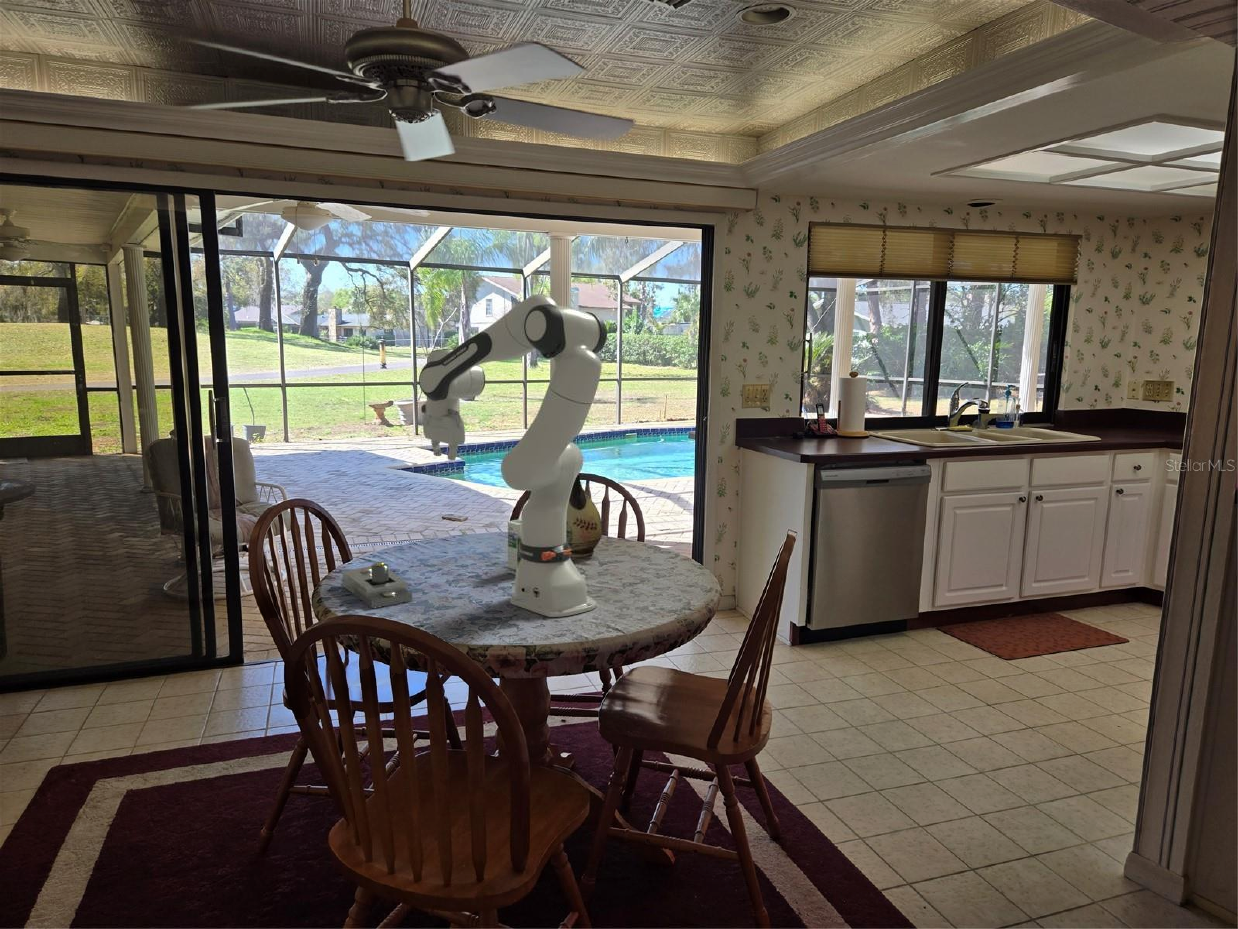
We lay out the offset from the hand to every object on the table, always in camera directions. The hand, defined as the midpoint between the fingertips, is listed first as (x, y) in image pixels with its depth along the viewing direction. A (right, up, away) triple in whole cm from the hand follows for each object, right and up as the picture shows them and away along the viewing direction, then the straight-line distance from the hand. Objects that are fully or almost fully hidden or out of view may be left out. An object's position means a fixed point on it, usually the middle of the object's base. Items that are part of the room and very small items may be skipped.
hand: (444, 457), depth 215 cm
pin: (-11, -35, -23) cm, 43 cm away
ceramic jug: (+36, -29, +18) cm, 50 cm away
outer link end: (-13, -34, -19) cm, 41 cm away
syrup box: (+22, -32, -1) cm, 39 cm away
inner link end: (-10, -35, -24) cm, 44 cm away
